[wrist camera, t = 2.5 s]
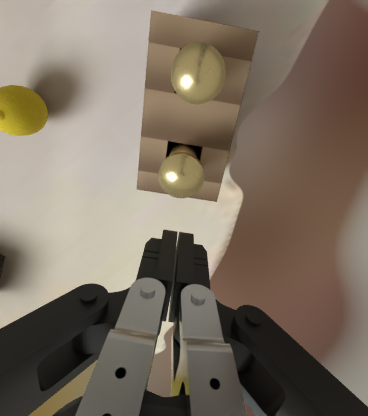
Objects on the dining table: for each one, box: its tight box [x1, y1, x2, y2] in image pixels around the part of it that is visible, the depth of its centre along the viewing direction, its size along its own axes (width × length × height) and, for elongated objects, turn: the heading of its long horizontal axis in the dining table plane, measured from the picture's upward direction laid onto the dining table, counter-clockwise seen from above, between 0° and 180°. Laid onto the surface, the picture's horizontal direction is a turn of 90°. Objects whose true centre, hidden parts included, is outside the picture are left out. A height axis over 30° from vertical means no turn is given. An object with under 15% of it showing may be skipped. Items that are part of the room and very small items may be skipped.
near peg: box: [171, 42, 226, 104], centre depth 23 cm, size 4×4×10 cm
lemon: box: [0, 85, 48, 136], centre depth 30 cm, size 6×6×8 cm
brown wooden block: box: [137, 11, 259, 202], centre depth 29 cm, size 16×9×10 cm, turn 171°
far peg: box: [158, 142, 204, 198], centre depth 26 cm, size 4×4×10 cm
